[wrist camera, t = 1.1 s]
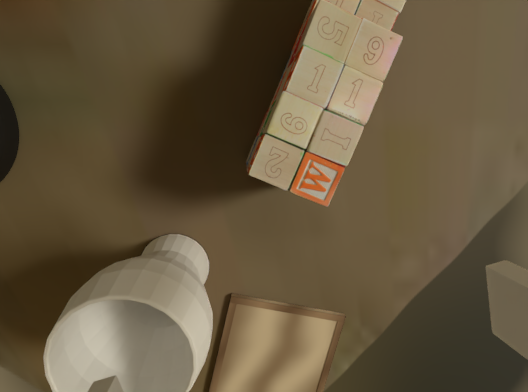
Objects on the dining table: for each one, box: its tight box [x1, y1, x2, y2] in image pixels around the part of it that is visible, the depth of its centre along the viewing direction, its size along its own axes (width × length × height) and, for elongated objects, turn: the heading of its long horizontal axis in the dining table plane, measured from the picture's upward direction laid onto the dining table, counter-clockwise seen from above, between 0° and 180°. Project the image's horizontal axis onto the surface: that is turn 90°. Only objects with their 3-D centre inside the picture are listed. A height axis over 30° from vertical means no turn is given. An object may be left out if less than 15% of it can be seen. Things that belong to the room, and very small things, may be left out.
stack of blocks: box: [246, 0, 406, 206], centre depth 25 cm, size 21×6×12 cm, turn 157°
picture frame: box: [209, 293, 346, 392], centre depth 36 cm, size 14×14×1 cm
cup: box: [43, 234, 213, 392], centre depth 26 cm, size 11×11×15 cm
